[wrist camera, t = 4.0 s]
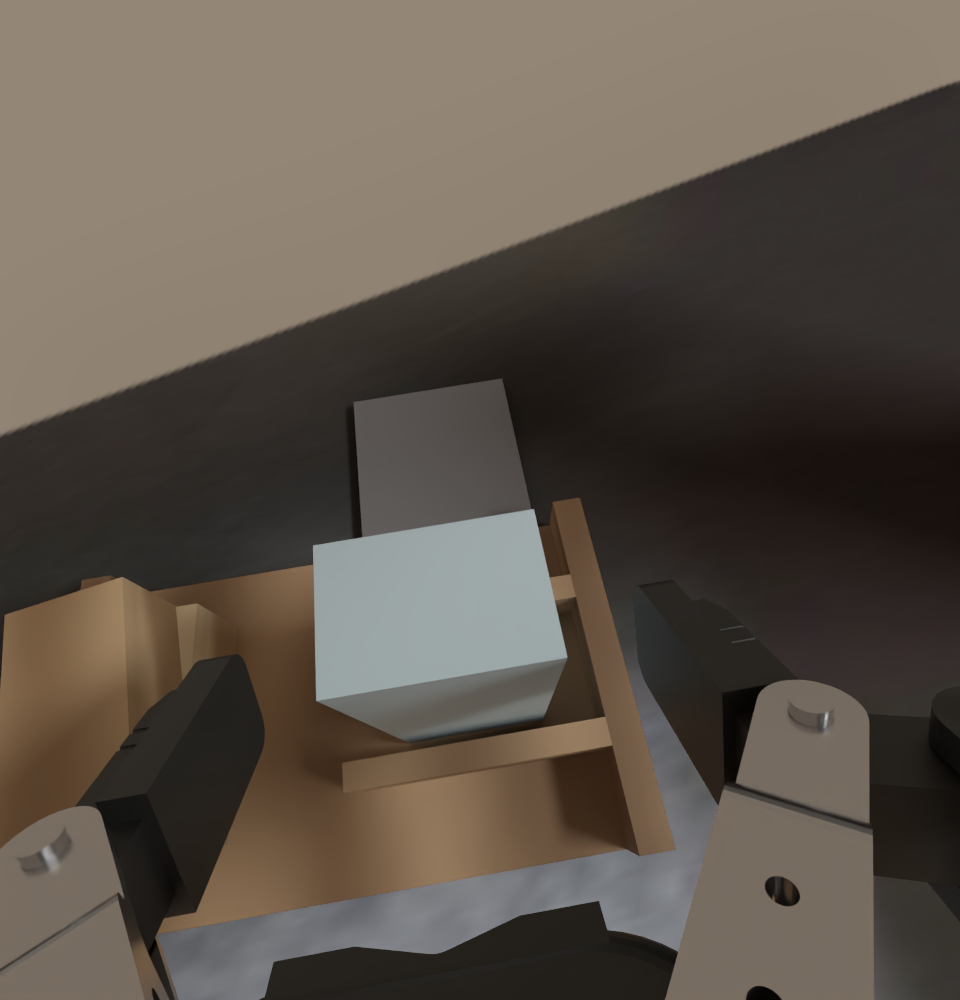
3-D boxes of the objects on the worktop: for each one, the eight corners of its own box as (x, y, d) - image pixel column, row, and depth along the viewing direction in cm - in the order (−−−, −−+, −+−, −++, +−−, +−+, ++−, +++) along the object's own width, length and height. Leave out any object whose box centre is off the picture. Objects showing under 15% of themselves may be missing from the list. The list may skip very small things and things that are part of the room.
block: (525, 632, 20) (533, 508, 11) (542, 720, 19) (567, 658, 10) (401, 653, 20) (313, 545, 11) (409, 743, 19) (316, 701, 10)
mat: (502, 385, 27) (502, 378, 26) (531, 515, 23) (531, 510, 23) (356, 408, 27) (353, 402, 26) (365, 543, 23) (362, 538, 23)
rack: (572, 531, 23) (579, 497, 20) (651, 840, 18) (675, 849, 15) (133, 604, 23) (81, 580, 20) (87, 942, 18) (10, 970, 15)
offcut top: (176, 606, 18) (122, 576, 16) (193, 804, 16) (132, 807, 13) (75, 639, 18) (4, 614, 15) (75, 848, 15) (-11, 859, 13)
